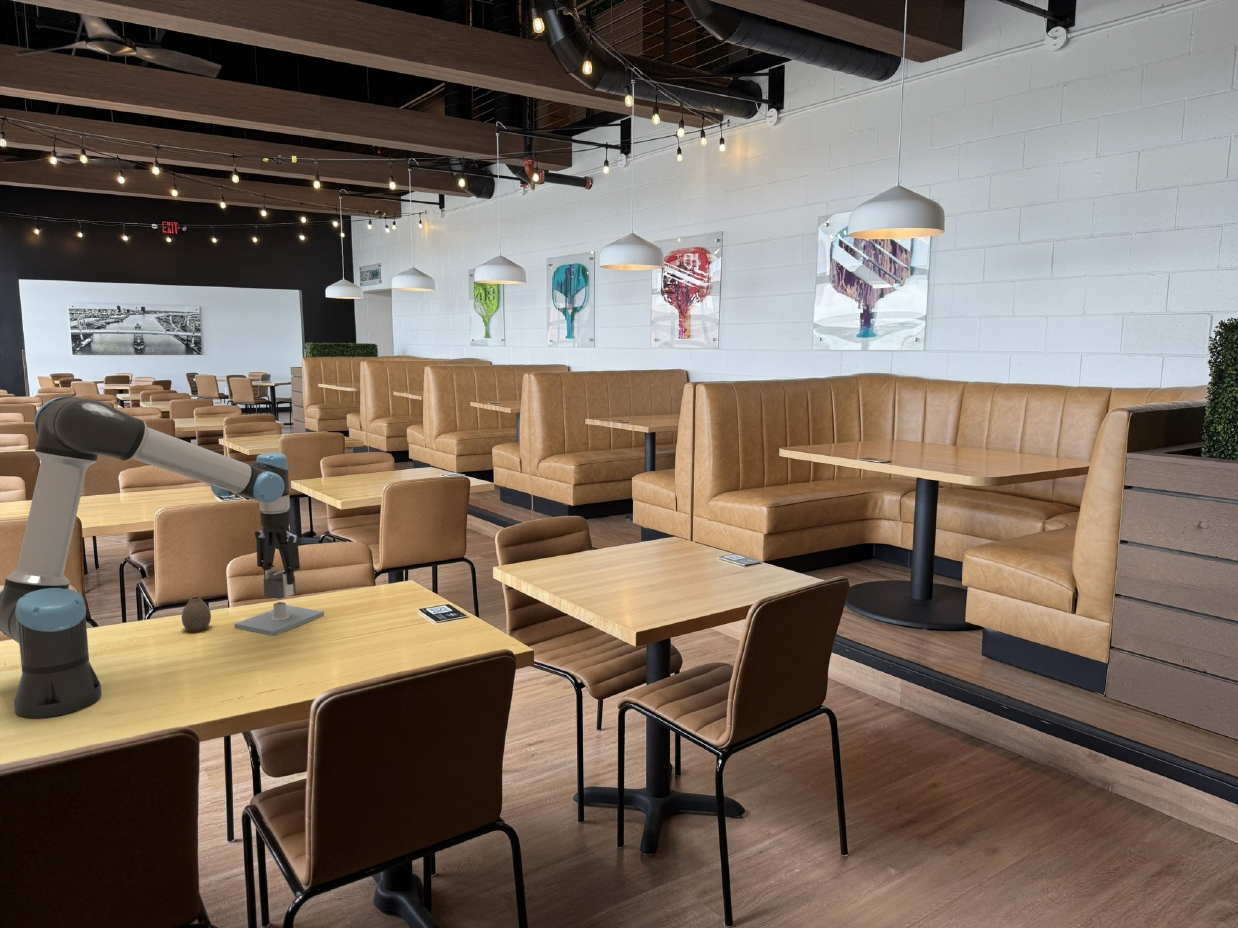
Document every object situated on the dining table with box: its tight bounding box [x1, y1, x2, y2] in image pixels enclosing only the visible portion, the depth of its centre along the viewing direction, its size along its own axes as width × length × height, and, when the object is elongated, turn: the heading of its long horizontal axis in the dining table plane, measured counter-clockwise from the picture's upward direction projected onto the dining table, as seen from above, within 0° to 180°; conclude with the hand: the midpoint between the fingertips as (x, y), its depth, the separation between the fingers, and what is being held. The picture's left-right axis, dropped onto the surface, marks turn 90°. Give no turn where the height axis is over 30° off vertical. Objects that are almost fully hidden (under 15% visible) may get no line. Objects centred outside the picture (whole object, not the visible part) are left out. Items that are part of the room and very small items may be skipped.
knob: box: [262, 569, 297, 600], centre depth 223 cm, size 6×6×6 cm
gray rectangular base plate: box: [234, 601, 325, 637], centre depth 224 cm, size 18×14×5 cm
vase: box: [181, 596, 212, 633], centre depth 217 cm, size 7×7×9 cm
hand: (280, 593), depth 223 cm, fingers closed on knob, 6 cm apart
